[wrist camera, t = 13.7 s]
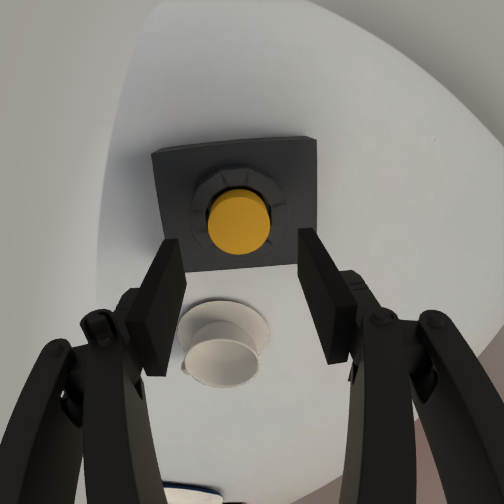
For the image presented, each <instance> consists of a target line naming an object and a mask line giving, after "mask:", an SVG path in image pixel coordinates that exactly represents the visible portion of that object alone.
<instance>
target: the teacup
mask: <svg viewBox="0 0 504 504" xmlns="http://www.w3.org/2000/svg"><path fill="white" fill-rule="evenodd" d="M177 337H178V341H179V343H180V345H181V347H182V348H183V350H184V351H185V352H186V355H185V359H184V360H183V362H182V365H181V370H182V371H183V372H184V373H185V374H187V375H191V376H192V377H193V378H194V379H195V380H197V381H199V382H200V383H203V384H205V385H208V386H212V387H217V388H231V387H236V386H240V385H243V384H245V383H247V382H249V381H250V380H251V379H253V378H254V377H255V376H256V374H257V373H258V371H259V368H260V360H259V356H260V355H261V354H262V352H263V351H264V350H265V348H266V346H267V344H268V340H269V330H268V327H267V324H266V322H265V321H264V319H263V318H262V317H261V316H260V315H259V314H258V313H257V312H256V311H254V310H253V309H251V308H249V307H247V306H245V305H242V304H240V303H236V302H231V301H211V302H206V303H203V304H200V305H198V306H195V307H194V308H192V309H190V310H189V311H188V312H187V313H186V314H185V315H184V316H183V317H182V318H181V320H180V322H179V324H178V328H177Z"/></svg>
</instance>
